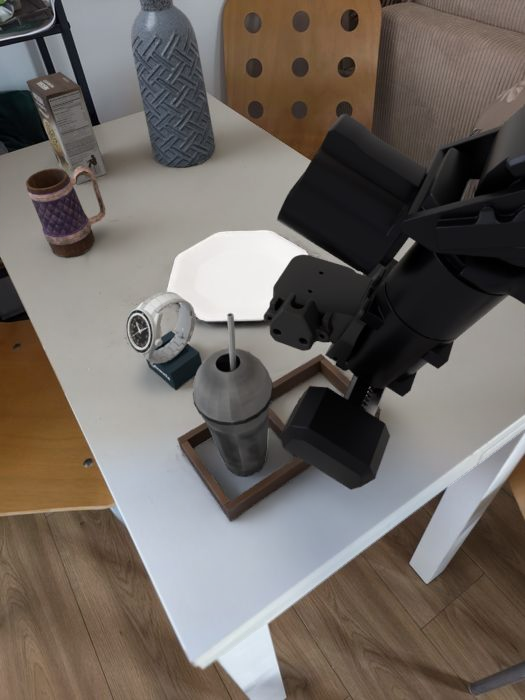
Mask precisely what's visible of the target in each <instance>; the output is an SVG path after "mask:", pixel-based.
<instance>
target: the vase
mask: <svg viewBox="0 0 525 700" xmlns="http://www.w3.org/2000/svg"><path fill="white" fill-rule="evenodd" d="M139 4H140V8H141V9H140V11H139V12H138V14H137V15H136V16H135V18H134V20H133V23H132V26H131V34H130V38H131V40H130V41H131V50H132V51H131V52H132V57H133V61H134V66H135V69H136V70H135V71H136V77H137V82H138V87H139V90H140V91H139V92H140V96H141V101H142V107H143V112H144V116H145V122H146V127H147V132H148V137H149V141H150V148H151V150H152V154H153V157H154V158H155V160H156V161H157V162H158V163H159V164H161V165H164V166H167V167H173V168H182V167H183V168H184V167H191V166H193V165H198V164H200V163H203V162H204V161H207V160H208V159H209V158H211V156H212V155H214V152H215V149H216V142H215V135H214V130H213V129H214V128H213V124H212V118H211V117H212V116H211V112H210V106H209V101H208V96H207V90H206V85H205V84H206V83H205V77H204V73H203V66H202V62H201V56H200V51H199V50H200V49H199V44H198V40H197V36H196V33H195V29H194V27H193V24H192V23H191V20H190V18H189V17H188V16H187V15H186V14H185V13H184V12H183V11H182V10H181V9H179V8H178V7H177V6H175V5H174V0H139Z"/></svg>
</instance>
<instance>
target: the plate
mask: <svg viewBox="0 0 525 700" xmlns="http://www.w3.org/2000/svg"><path fill="white" fill-rule="evenodd" d="M298 255H310V254H309V253H308V251H307V250H306V249H304V248H302V247H300V246H298V245H297V244H295V243H293V242H292V241H290V240H289V239H287V238H284V237H283V236H281V235H279V233H278V234H277V233H276V232H275V231H272V230H268V229H263V230H262V229H261V230H260V229H259V230H232V231H231V230H228V231H219V232H215V233H213V234H211V235H210V236H208V237H206V238H204V239H202V240H201V241H198V242H197V243H196V244H194V245H192V246H190V247H189V248H187V249H185V250H183V251H182V252H180V253H178V254H177V255H176V257H174V261H173V264H172V269H171V272H170V278H169V280H168V285H167V288H166V292H173V293H176V294H177V295H179V296H180V297H182V298H183V299H185V300H186V301H187V302H189V303H190V304H191V305H192V306H193V309H194V313H195V314H196V318H197V319H198V320H199V321H200V322H204V323H208V324H210V323H228V320H227V315H228V314H229V313H233V315H234V323H253V322H255V323H260V322H264V321H265V320H264V314H265V313H266V311H267V310H268V308H269V307H270V301H271V300H272V298H273V287H274V285H275V283H276V282H277V280H278V279H279V277H280V276H281V274H282V273H283V271H284V270H285V268H286V267H287V265H288V264H289V262H290V261H291V259H292V258H294V257H295V256H298ZM180 304H181V303H178V305H180ZM265 322H266V321H265Z"/></svg>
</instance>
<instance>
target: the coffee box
mask: <svg viewBox="0 0 525 700" xmlns="http://www.w3.org/2000/svg"><path fill="white" fill-rule="evenodd" d="M25 82H26V83H25V84H26V85H27V87H28V89H29V92H30V94H31V95H30V96H31V97H32V101H33V102H34V105H35V107H36V111H37V112H38V115H39V117H40V120H41V123H42V125H43V128H44V130H45V133H46V135H47V138H48V141H49V143H50V146H51V148H52V151H53V153H54V156H55V159H56V161H57V164H58V166H59V169H62V170H64V171H66V173H67V174H68V176H69V177H70V179H72V178H73V175H74V170H75V169H76V168H77V167H80V166H82V165H83V166H86V167H89V168H90V169H91V170H92V172H93V173H94V174H95V175H96V178H99V177H102V176H104V175H107V169H106V166H105V164H104V160H103V158H102V157H103V156H102V153H101V150H100V148H99V143H98V140H97V138H96V133H95V131H94V127H93V124H92V121H91V117H90V115H89V111H88V108H87V105H86V101H85V98H84V94H83V92H82V89H81V86H80V85H79V84H78V83H77V82H75V81H73V80H72V79H71V78H70V77H68V76H67V75H65V74H64V73H62V72H61V71H58V72H55V73H51V74H46V75H42V76H38V77H35V78H31V79H29V80H27V81H25ZM88 181H92V180H91V179H90V178H89V177H88V176H85V175H80V176H79V177H78V179H77V183H76V184H75V185H81V184H83V183H86V182H88Z"/></svg>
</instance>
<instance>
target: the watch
mask: <svg viewBox="0 0 525 700" xmlns="http://www.w3.org/2000/svg"><path fill="white" fill-rule="evenodd" d="M179 303H181V304H179ZM175 304H179V305H180V308H179V309H178V318H177V321H176V326H175V329H174V331H172V330H170V331H168V332H167V333H165V334H164V335H163V334H162V325H161V323H162V320H163V319H162V318H163V313H162V311H163V310H164V309H166V308H168V307H169V306H171V305H175ZM125 323H126V324H125V332H126V337H127V340H128V343H129V345H130V346H131V347H132V349H133V350H134V352H136V353H138V354H140V355H141V356H142V357H143V358H144V359H145V361H146V363H147V365H148V367H149V369H150V370H151V371H152V372H154V373H155V374H156V375H158V376H159V377H160V378H161V379H162V380H163V381H164V382H166V384H168V385H169V386H170V387H171V388H172V389H174V390H175V391H177V390H179V389H180V388H181V387H183V386H184V385H186V383H188V382H189V381H191V380H192V379H193V378H195V376H196V373H197V370H198V369H199V367H200V366H201V364H202V363H203V362H202V357H201V353H200V352H199V351H198V350H197V349H195V348H194V347H193V346H192V345H190V344H189V343H188V342H191V339H192V336H193V333H194V329H195V325H196V314H195V313H194V309H193V306H192V305H191V304H190V303H189V302H187V301H186V300H185V299H183V298H182V297H180V296H179V295H177V294H176V293H173V292H167V291H161V292H158V293H156V294H153V295H152V296H151V297H149V298H147V299H146V300H143V301H142V302H141V303H140V304H139V305H137V307H136V308H135V309H133V310H131V311H130V313H129V314H128V316H127V318H126V322H125Z"/></svg>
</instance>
